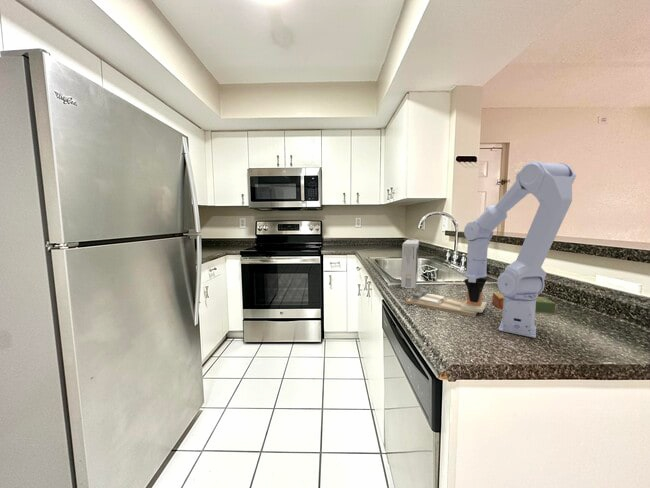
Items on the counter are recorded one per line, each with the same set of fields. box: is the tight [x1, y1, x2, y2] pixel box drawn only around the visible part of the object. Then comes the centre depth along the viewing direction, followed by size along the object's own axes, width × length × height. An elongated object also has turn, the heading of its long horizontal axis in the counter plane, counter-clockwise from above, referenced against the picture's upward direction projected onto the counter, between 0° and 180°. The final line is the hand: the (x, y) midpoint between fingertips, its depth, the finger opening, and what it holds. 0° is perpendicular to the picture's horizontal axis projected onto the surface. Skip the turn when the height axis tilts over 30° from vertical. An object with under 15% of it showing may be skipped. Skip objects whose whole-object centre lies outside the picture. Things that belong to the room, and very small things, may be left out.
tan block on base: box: [461, 291, 488, 313], centre depth 91 cm, size 10×6×5 cm, turn 142°
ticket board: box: [404, 289, 479, 318], centre depth 97 cm, size 14×22×3 cm, turn 52°
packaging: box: [400, 239, 420, 289], centre depth 134 cm, size 30×6×20 cm, turn 160°
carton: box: [492, 292, 557, 315], centre depth 94 cm, size 8×16×4 cm, turn 71°
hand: (474, 300), depth 91 cm, fingers closed on tan block on base, 3 cm apart
